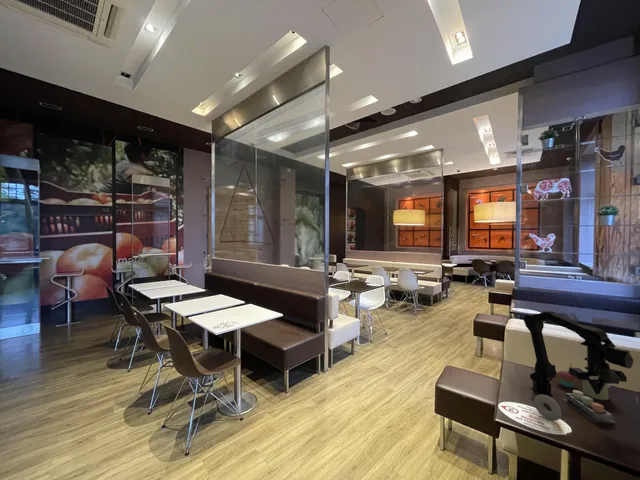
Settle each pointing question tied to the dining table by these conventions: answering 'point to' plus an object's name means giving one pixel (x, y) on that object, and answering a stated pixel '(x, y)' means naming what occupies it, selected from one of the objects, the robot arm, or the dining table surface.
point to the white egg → (577, 394)
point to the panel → (588, 410)
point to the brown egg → (597, 408)
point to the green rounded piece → (587, 401)
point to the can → (590, 392)
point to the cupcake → (566, 378)
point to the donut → (551, 415)
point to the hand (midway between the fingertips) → (597, 393)
